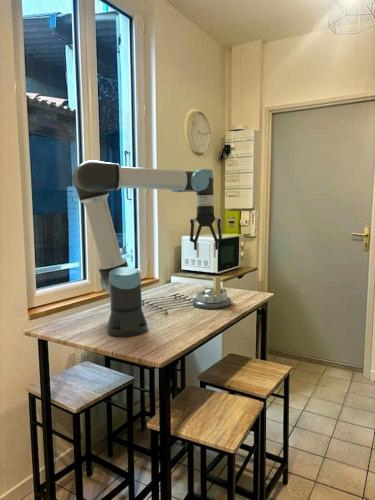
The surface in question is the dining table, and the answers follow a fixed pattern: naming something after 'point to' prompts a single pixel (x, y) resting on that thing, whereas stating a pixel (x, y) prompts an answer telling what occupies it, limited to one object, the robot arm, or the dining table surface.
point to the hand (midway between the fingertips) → (206, 257)
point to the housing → (211, 305)
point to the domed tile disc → (219, 293)
